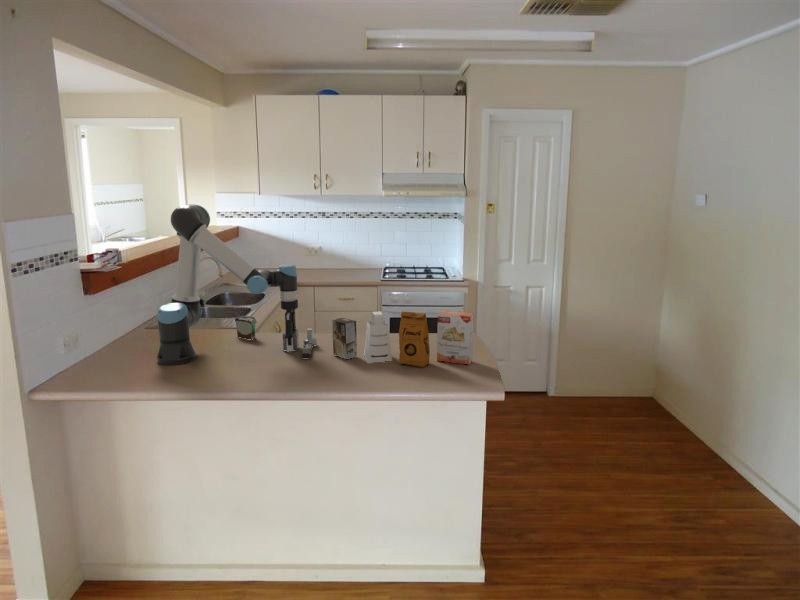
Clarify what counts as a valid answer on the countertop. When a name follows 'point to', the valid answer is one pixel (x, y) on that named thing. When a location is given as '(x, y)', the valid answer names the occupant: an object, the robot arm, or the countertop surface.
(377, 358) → the grater
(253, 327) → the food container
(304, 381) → the countertop surface
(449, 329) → the cracker box
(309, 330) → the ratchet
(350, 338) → the coffee box
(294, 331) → the red-striped grey cube
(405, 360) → the coffee package
